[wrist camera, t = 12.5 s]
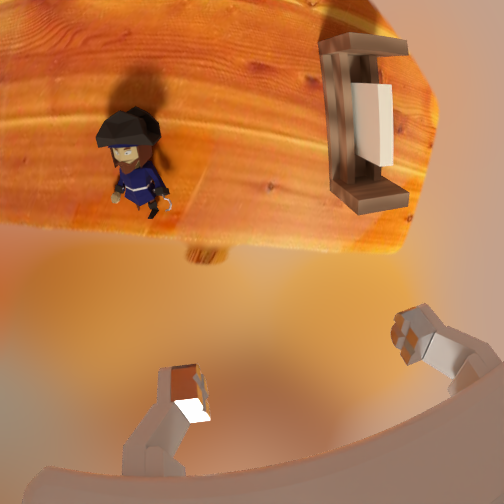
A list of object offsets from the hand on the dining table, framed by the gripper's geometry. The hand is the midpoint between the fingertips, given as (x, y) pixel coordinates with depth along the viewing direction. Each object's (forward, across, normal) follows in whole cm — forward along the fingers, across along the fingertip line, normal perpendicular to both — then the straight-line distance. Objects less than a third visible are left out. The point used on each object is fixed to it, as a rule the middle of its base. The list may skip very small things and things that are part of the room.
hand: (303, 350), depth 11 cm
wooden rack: (+31, -18, -4) cm, 36 cm away
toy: (+32, +12, -2) cm, 34 cm away
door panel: (+30, -18, -4) cm, 35 cm away
